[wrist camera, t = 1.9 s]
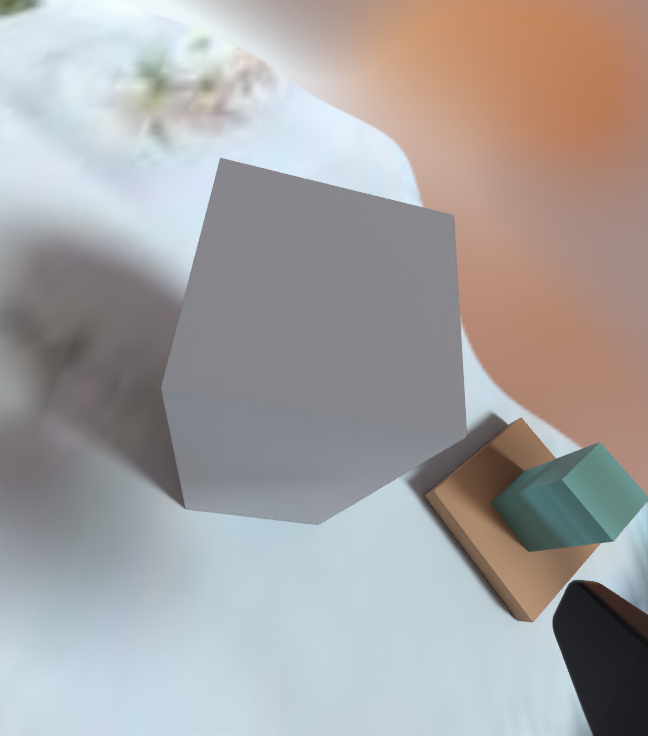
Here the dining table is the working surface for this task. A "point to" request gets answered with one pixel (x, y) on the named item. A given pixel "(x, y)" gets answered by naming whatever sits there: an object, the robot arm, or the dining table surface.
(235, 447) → the tall grey pillar
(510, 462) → the post plinth
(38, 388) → the dining table surface
